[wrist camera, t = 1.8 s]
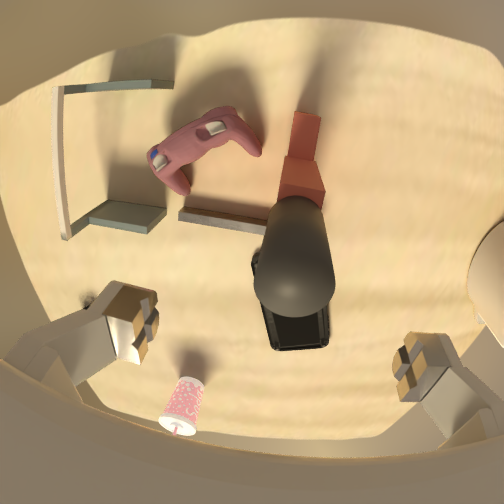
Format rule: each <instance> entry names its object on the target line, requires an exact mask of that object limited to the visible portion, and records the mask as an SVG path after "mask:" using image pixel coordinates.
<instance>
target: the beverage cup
mask: <svg viewBox="0 0 504 504" xmlns="http://www.w3.org/2000/svg"><path fill="white" fill-rule="evenodd" d="M203 391H204V385H203V384H202V383H201V382H200V381H199V380H197V379H195V378H192V377H181V378H180V379H179V381H178V383H177V385H176V387H175V389H174V391H173V393H172V396H171V398H170V400H169V402H168V404H167V406H166V408H165V410H164V412H163V414H161V416H160V418H159V423H160V424H161V425H162V426H163V427H164V428H166V429H167V430H170V431H171V432H173V434H172V435H176V433H177V434H180V435H187V436H189V435H194V433H196V422H197V417H198V413H199V409H200V404H201V400H202V396H203Z"/></svg>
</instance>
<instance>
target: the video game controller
mask: <svg viewBox="0 0 504 504" xmlns="http://www.w3.org/2000/svg"><path fill="white" fill-rule="evenodd" d="M229 140H234V141H236V142H237V143H238V144H240V145H241V146H242V147H243V148H244V149H245V150H246V151H247V152H248V153H249V154H251V155H252V156H255V157H259V156H261V154H262V148H261V144H260V142H259V140H258V138H257V137H256V135H255V134H254V132H253V131H252V130H251V128H250V127H249V126H248V125H247V124H246V123H245V122H244V121H243V120H242V119H241V118H240V117H239V116H238V114H237V112H236V110H235V109H234V108H233V107H230V106H223V107H218V108H215V109H212V110H210V111H208V112H207V113H206V114H204V115H203V116H202V117H201V118H199V119H197V120H195V121H193V122H191V123H189V124H187V125H185V126H184V127H182V128H180V129H179V130H177V131H176V132H174V133H173V134H171V135H170V136H169V137H167V138H166V139H165V140H164V141H162V142H161V143H160V144H157V145H155V146H153V147H152V148H151V149H150V150H149V151H148V153H147V159H148V162H149V165H150V168H151V169H152V171H153V173H154V174H155V175H156V176H157V177H158V178H159V179H160V180H161V181H162V182H164V183H165V184H166V185H167V186H169V187H170V188H171V189H172V190H173V191H175V192H176V193H178V194H180V195H183V196H187V195H189V194H190V190H191V189H190V185H189V182H188V180H187V178H186V176H185V175H184V173H183V172H182V171H181V169H180V167H181V166H183V165H185V164H189V163H191V162H194V161H196V160H198V159H199V158H200V157H202V156H203V155H204V154H205V153H206V152H208V151H209V150H210V149H211V148H215V147H219V146H221V145H224V144H225V143H227V142H228V141H229Z"/></svg>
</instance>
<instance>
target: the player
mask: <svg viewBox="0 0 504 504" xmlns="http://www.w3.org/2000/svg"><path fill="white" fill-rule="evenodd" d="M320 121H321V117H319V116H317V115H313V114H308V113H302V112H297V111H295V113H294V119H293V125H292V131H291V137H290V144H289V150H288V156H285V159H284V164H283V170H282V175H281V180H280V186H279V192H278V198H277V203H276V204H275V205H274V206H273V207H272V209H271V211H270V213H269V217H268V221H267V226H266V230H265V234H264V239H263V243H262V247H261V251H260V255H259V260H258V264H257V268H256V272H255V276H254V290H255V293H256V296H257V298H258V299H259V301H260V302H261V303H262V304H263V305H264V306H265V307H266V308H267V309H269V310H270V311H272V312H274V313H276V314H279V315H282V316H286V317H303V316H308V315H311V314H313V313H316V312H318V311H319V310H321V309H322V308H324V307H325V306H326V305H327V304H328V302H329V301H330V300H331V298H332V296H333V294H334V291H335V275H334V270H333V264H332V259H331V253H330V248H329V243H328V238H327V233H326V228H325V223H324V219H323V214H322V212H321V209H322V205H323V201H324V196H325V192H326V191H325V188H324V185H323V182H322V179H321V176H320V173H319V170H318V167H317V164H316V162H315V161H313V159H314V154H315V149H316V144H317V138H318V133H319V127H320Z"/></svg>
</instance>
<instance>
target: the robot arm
mask: <svg viewBox="0 0 504 504" xmlns="http://www.w3.org/2000/svg"><path fill="white" fill-rule="evenodd" d="M467 289H468V294H469V297H470V299H471V301H472V303H473V305H474V319H475V320H476V322H477V323H478V324H486V325H487V326H488V328H489V329H490V331H491V332H492V333H493V335H494V336H495V338H497V340H498V342H499V343H500V344H501V346H502V347H503V348H504V221H503V222H501V223H500V224H499V225H497V226H496V227H495V228H494V229H493V230H492V231H491V232H490V233H489V234H488V235H487V236H486V238H485V239H484V240H483V242H482V243H481V245H480V246H479V248H478V250H477V252H476V254H475V256H474V258H473V260H472V263H471V266H470V269H469V273H468V280H467ZM157 302H158V299H157V293H156V292H155V291H154V290H150V289H146V288H142V287H138V286H134V285H131V284H126V283H122V282H118V281H115V280H114V281H111V282H110V283H109V284H108V285H107V286H106V287H105V288H104V290H103V291H102V292H101V293H100V294H99V296H98V297H97V298H96V299H95V300H94V302H93V303H92V304H91V305H90V307H89V308H88V309H87V310H85V309H81V310H79V311H77V312H74V313H72V314H69V315H67V316H65V317H62V318H60V319H57V320H55V321H53V322H50V323H48V324H46V325H43V326H41V327H38V328H36V329H34V330H31V331H29V332H26V333H24V334H23V336H22V337H21V338H20V339H19V340H18V341H17V343H16V344H15V345H14V346H13V348H12V349H11V350H10V351H9V353H8V354H7V355H6V356H5V358H4V359H3V360H2V359H1V358H0V504H504V401H503V400H502V399H501V398H500V397H499V396H498V395H496V394H495V393H494V392H493V391H492V390H491V389H490V388H489V387H488V386H487V385H486V384H485V383H483V382H482V381H481V380H480V379H479V378H478V377H477V376H476V375H474V374H473V373H472V372H471V371H470V370H469V369H468V368H467V367H463V365H462V363H461V361H460V359H459V357H458V354H457V352H456V350H455V348H454V346H453V344H452V342H451V340H450V338H449V336H448V335H447V334H445V333H423V332H411V331H410V332H409V333H408V334H407V335H406V337H405V338H404V346H402V347H401V348H399V349H398V350H397V352H396V354H395V356H394V359H393V363H392V370H393V375H394V377H395V378H396V379H397V380H398V381H399V382H398V384H397V386H396V387H397V391H398V395H399V399H400V402H420V404H421V405H422V406H423V408H424V409H425V410H426V411H427V413H428V414H429V416H430V417H431V418H432V420H433V421H434V422H435V424H436V425H437V426H438V428H439V429H440V430H441V432H442V433H443V434H444V436H445V437H446V438H447V440H446V441H445V442H444V443H443V444H441V445H440V446H439V447H438V449H437V450H434V451H428V452H422V453H413V454H404V455H393V456H380V457H356V458H330V457H304V456H290V455H279V454H270V453H262V452H255V451H248V450H241V449H235V448H229V447H223V446H218V445H214V444H209V443H204V442H200V441H195V440H191V439H187V438H183V437H179V436H175V435H171V434H168V433H165V432H161V431H158V430H154V429H151V428H148V427H145V426H142V425H138V424H136V423H133V422H130V421H127V420H124V419H121V418H119V417H116V416H113V415H111V414H108V413H106V412H103V411H101V410H98V409H96V408H93V407H91V406H89V405H86V404H84V403H83V402H82V398H81V397H80V395H79V393H78V391H77V390H76V388H75V387H76V386H77V385H79V384H80V383H82V382H83V381H85V380H86V379H88V378H89V377H91V376H92V375H94V374H95V373H97V372H98V371H100V370H101V369H103V368H104V367H106V366H107V365H109V364H110V363H112V362H113V361H115V360H116V358H119V359H122V360H125V361H129V362H132V363H136V364H140V365H141V363H142V361H143V359H144V357H145V355H146V353H147V351H148V345H147V343H148V342H150V341H152V340H153V339H154V337H155V335H156V333H157V329H158V325H159V312H158V311H157V309H156V308H155V305H156V304H157Z"/></svg>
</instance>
